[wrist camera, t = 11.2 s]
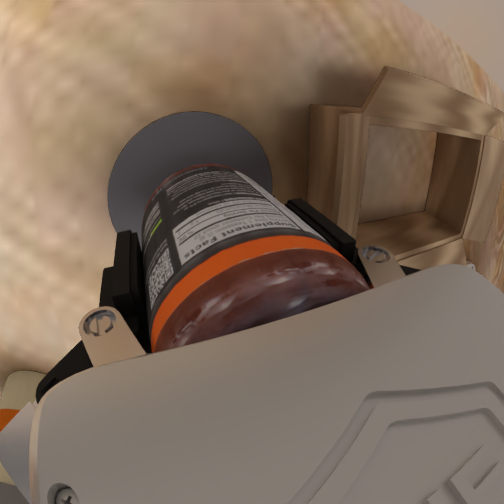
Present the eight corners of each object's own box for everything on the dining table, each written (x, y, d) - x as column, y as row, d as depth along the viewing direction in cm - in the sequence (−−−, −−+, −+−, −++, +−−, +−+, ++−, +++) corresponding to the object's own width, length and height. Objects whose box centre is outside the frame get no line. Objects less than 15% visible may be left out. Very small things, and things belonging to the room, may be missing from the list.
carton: (456, 100, 20) (512, 117, 14) (433, 232, 28) (477, 264, 22) (272, 64, 14) (343, 55, 9) (272, 277, 22) (316, 338, 17)
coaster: (267, 105, 15) (271, 106, 15) (268, 248, 21) (272, 253, 20) (95, 129, 13) (93, 130, 12) (129, 278, 18) (129, 284, 18)
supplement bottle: (254, 266, 16) (375, 449, 7) (146, 278, 14) (194, 514, 5) (268, 160, 13) (487, 317, 4) (138, 161, 11) (154, 451, 2)
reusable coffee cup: (-4, 403, 19) (-8, 515, 7) (-12, 340, 16) (-36, 497, 4) (87, 430, 26) (104, 539, 14) (109, 382, 22) (133, 535, 10)
